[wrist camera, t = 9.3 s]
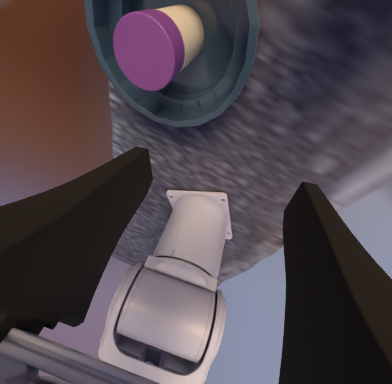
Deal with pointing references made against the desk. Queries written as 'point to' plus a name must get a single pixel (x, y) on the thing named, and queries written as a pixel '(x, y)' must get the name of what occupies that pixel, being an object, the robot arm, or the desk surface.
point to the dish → (197, 69)
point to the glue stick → (157, 44)
